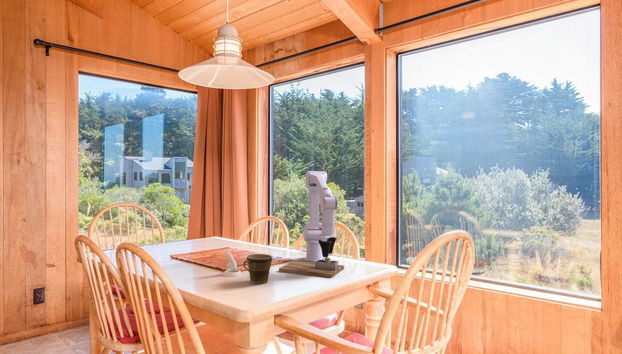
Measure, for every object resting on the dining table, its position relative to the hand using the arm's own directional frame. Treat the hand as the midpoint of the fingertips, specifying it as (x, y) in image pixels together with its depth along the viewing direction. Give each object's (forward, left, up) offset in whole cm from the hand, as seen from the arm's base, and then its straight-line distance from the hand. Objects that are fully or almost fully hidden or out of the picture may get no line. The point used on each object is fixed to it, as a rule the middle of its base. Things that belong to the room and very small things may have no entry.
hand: (327, 255), depth 176 cm
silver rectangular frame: (0, 0, -6) cm, 6 cm away
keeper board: (0, -7, -7) cm, 10 cm away
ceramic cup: (+29, -19, -7) cm, 35 cm away
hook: (+22, -34, -8) cm, 41 cm away
